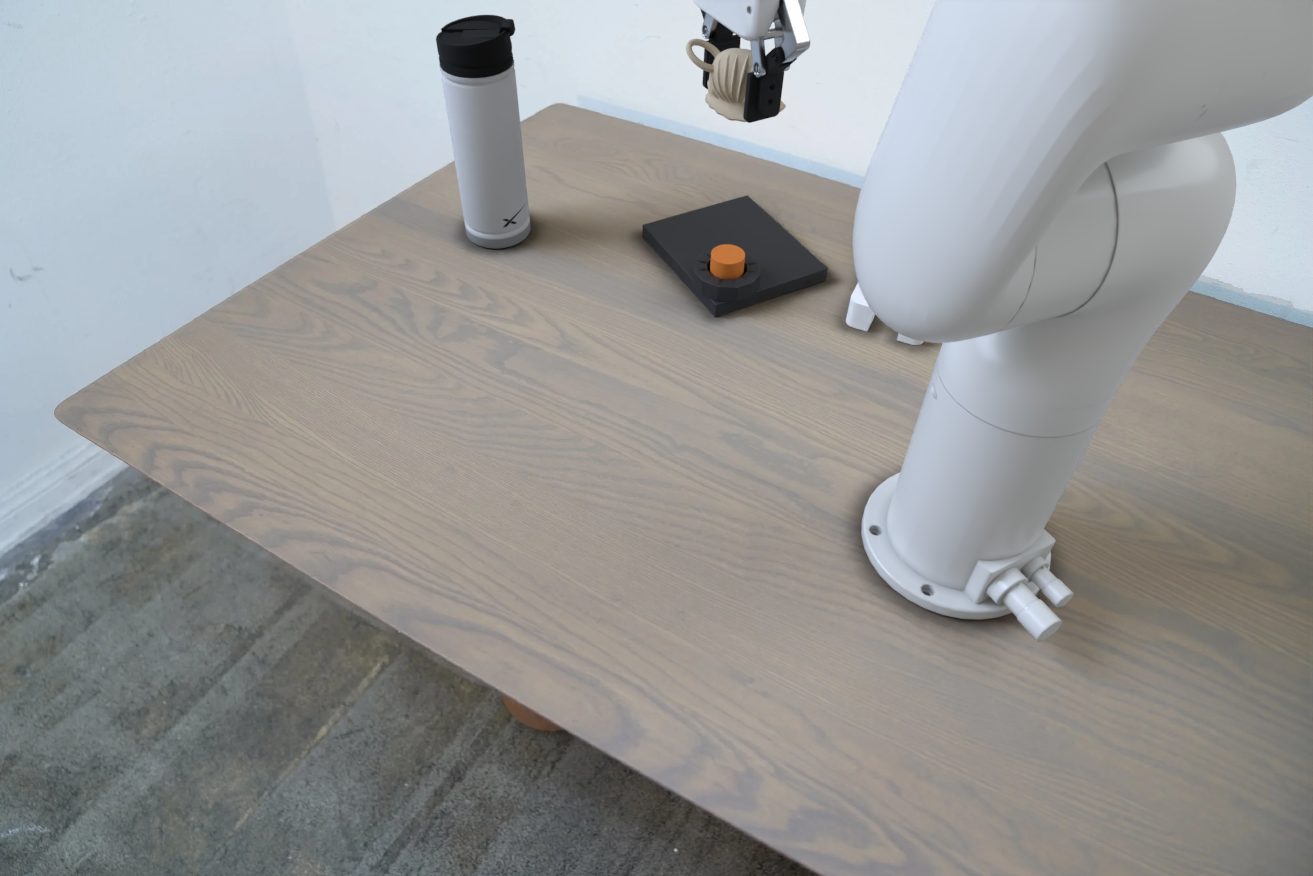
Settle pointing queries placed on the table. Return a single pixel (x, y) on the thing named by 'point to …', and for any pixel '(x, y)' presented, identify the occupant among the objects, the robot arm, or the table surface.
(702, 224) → the black flat block
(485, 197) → the travel mug
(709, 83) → the decorative ornament
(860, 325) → the slotted bracket
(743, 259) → the button
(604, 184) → the table surface
